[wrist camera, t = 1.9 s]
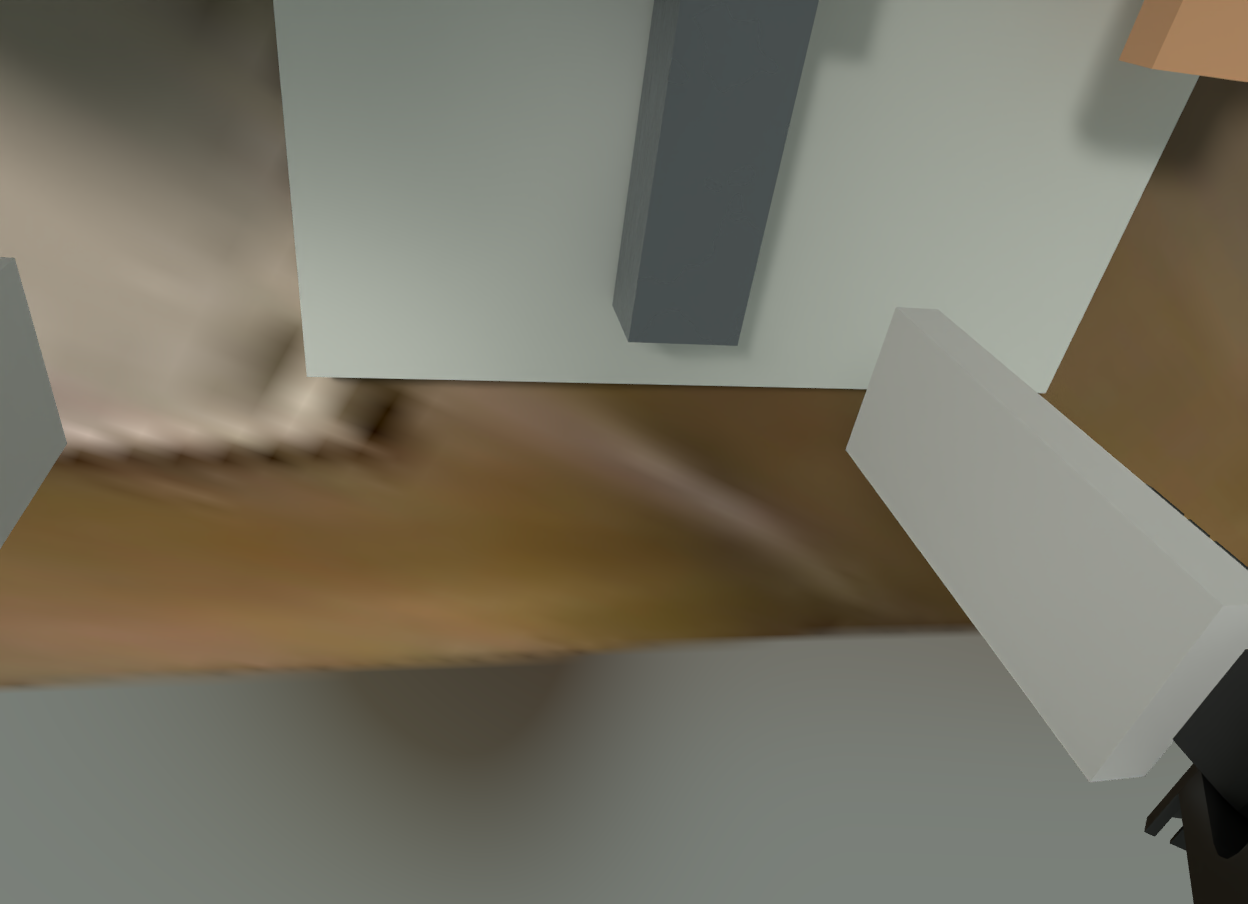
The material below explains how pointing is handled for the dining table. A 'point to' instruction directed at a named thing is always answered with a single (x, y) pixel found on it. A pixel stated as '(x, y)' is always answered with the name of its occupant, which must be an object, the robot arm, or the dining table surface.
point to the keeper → (1191, 38)
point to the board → (801, 204)
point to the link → (706, 164)
